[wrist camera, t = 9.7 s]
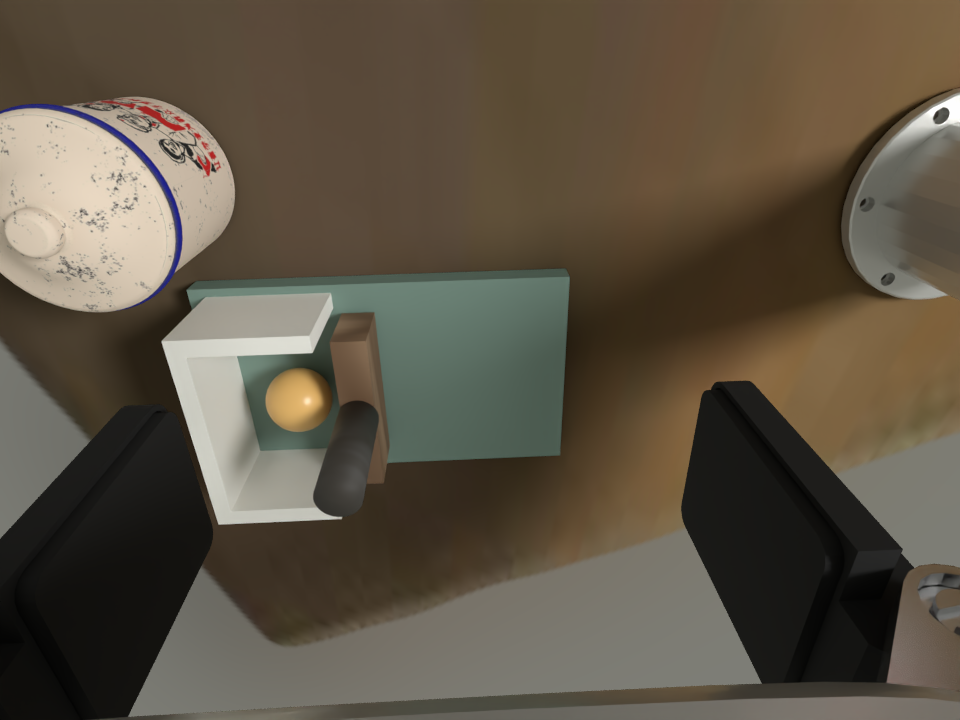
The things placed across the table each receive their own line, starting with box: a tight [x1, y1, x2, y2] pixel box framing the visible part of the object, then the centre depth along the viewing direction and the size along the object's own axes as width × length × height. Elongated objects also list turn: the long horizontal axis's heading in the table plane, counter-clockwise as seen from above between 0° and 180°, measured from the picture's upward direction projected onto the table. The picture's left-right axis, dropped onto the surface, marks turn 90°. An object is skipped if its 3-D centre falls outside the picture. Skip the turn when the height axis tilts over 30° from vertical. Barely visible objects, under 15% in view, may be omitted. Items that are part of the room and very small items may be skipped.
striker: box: [313, 312, 390, 517], centre depth 33 cm, size 2×10×11 cm, turn 1°
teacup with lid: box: [0, 97, 235, 312], centre depth 28 cm, size 12×9×12 cm
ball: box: [265, 368, 333, 432], centre depth 36 cm, size 4×4×4 cm
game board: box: [161, 269, 570, 525], centre depth 36 cm, size 23×14×8 cm, turn 91°
